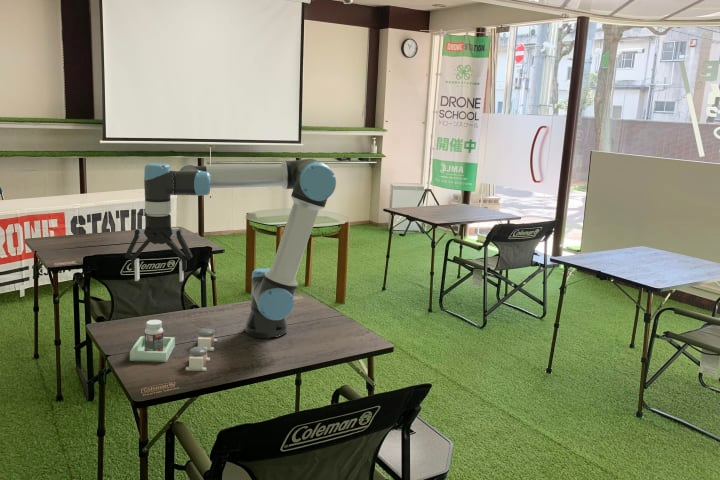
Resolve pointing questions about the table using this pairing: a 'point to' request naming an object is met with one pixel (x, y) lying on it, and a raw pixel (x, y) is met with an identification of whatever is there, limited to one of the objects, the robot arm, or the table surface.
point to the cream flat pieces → (197, 362)
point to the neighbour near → (199, 353)
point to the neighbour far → (207, 334)
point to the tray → (154, 356)
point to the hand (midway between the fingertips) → (159, 280)
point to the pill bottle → (154, 336)
